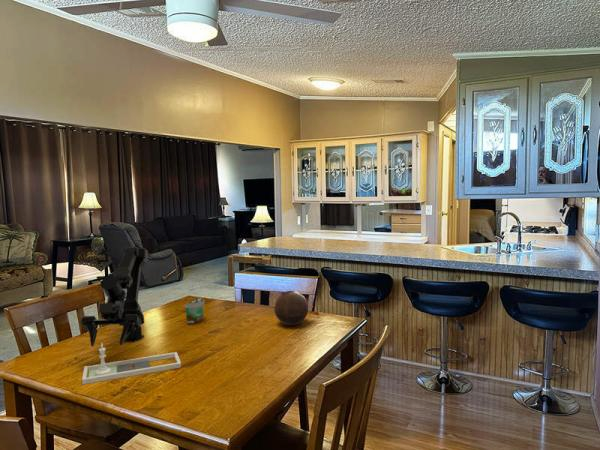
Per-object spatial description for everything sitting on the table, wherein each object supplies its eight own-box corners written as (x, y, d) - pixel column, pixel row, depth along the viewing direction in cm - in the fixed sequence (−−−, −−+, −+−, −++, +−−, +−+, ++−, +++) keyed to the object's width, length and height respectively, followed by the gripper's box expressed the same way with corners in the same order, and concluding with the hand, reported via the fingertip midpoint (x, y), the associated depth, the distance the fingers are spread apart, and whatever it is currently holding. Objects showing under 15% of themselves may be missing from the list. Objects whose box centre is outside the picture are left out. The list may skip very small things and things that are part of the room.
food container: (198, 326, 188) (197, 304, 187) (185, 325, 190) (184, 303, 189) (209, 318, 200) (209, 297, 199) (197, 317, 202) (196, 296, 201)
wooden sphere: (313, 327, 185) (313, 293, 184) (281, 331, 180) (281, 296, 178) (300, 317, 199) (300, 286, 198) (270, 321, 193) (269, 289, 192)
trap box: (176, 356, 154) (176, 352, 154) (181, 367, 144) (181, 363, 144) (84, 370, 143) (84, 366, 142) (82, 384, 133) (82, 379, 132)
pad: (116, 367, 145) (116, 365, 145) (117, 377, 138) (116, 375, 138) (89, 371, 142) (89, 370, 142) (88, 381, 134) (88, 380, 134)
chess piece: (95, 377, 137) (93, 346, 136) (95, 371, 141) (93, 342, 140) (111, 374, 139) (110, 344, 138) (111, 368, 143) (109, 339, 142)
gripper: (80, 293, 146) (68, 336, 136) (136, 291, 148) (129, 333, 138) (90, 309, 155) (80, 350, 145) (143, 307, 157) (137, 347, 147)
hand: (106, 345), depth 143 cm, fingers open, 9 cm apart
